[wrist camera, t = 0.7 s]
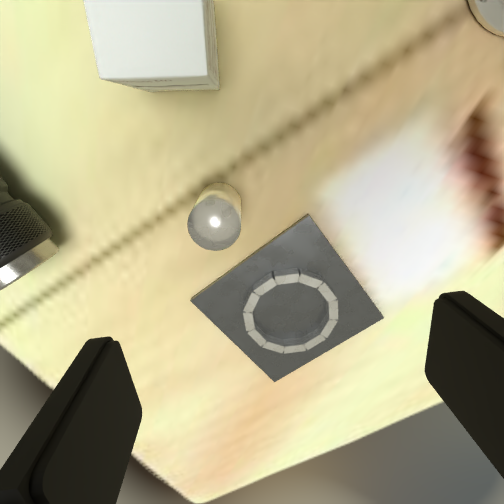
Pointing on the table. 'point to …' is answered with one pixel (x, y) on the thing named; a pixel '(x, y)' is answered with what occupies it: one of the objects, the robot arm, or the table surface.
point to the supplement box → (155, 43)
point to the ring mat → (288, 301)
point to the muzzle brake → (21, 238)
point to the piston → (216, 217)
